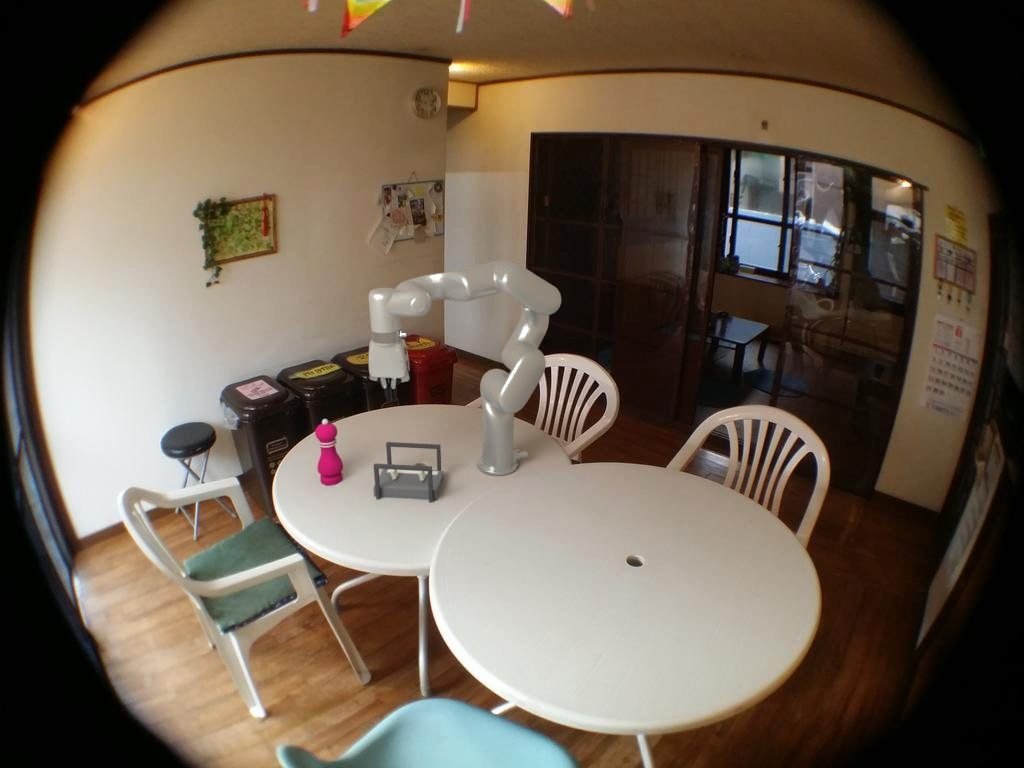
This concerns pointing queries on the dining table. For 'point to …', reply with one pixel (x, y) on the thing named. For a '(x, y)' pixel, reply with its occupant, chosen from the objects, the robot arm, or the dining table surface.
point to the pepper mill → (328, 454)
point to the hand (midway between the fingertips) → (391, 400)
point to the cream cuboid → (422, 475)
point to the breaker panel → (409, 484)
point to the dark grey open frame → (407, 467)
